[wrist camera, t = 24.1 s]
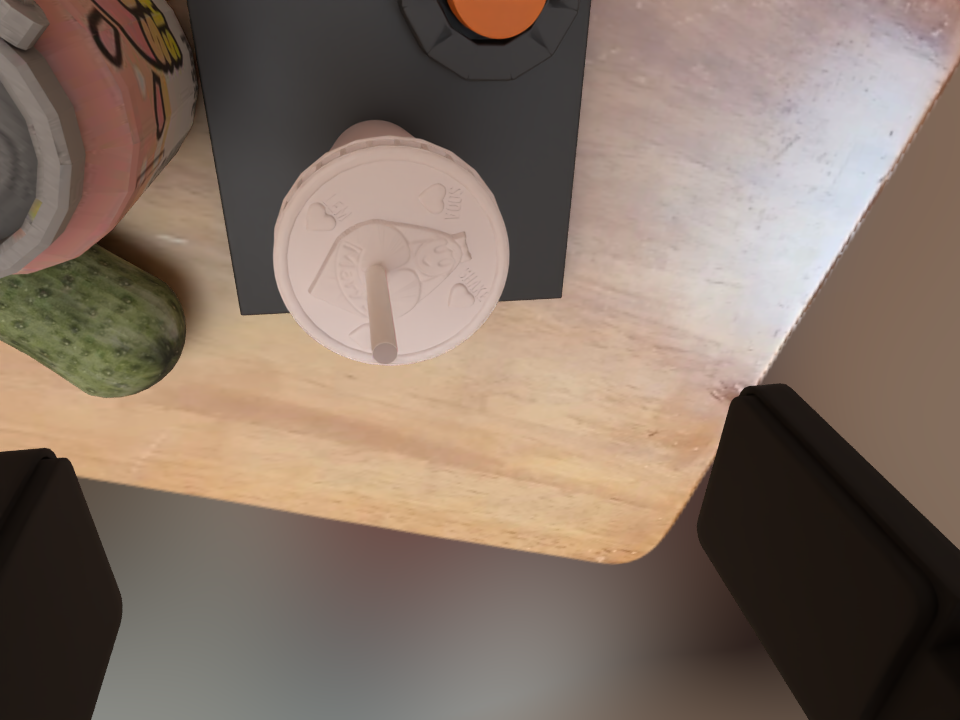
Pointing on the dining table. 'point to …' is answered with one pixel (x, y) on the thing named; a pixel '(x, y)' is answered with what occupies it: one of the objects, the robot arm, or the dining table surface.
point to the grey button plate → (390, 113)
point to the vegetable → (95, 322)
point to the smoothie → (389, 248)
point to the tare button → (497, 16)
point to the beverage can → (84, 119)
